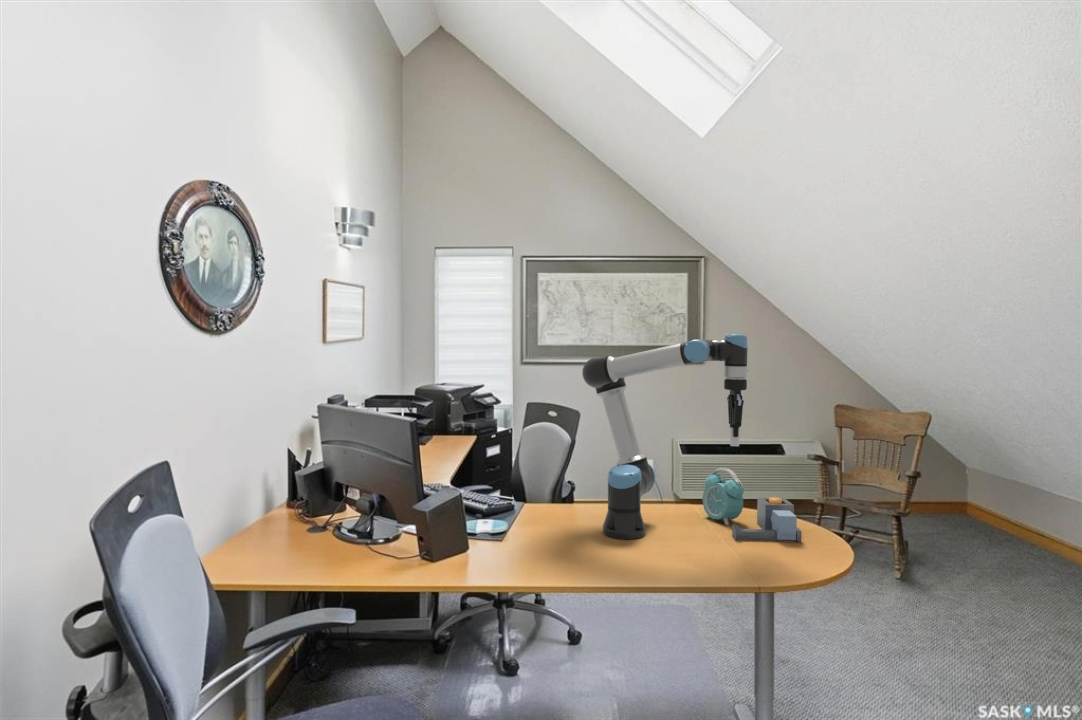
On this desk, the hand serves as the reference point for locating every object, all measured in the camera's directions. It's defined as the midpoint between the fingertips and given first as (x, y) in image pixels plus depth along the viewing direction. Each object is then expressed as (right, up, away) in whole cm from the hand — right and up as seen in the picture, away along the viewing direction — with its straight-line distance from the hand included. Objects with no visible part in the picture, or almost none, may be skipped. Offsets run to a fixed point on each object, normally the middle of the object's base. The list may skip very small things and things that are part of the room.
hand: (734, 445), depth 208 cm
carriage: (+17, -32, -1) cm, 36 cm away
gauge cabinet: (+19, -32, +12) cm, 39 cm away
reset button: (+19, -25, +11) cm, 33 cm away
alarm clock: (+2, -32, +22) cm, 39 cm away
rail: (+11, -33, -1) cm, 34 cm away
